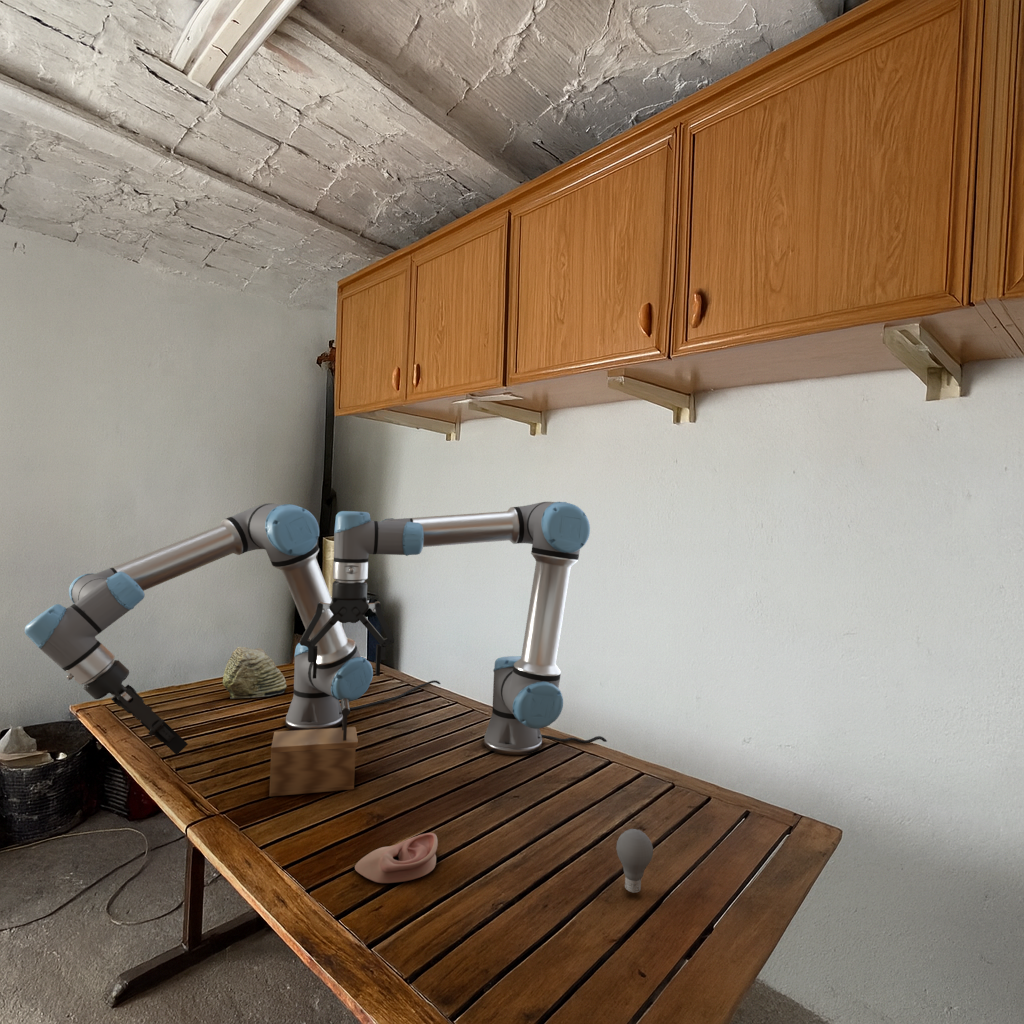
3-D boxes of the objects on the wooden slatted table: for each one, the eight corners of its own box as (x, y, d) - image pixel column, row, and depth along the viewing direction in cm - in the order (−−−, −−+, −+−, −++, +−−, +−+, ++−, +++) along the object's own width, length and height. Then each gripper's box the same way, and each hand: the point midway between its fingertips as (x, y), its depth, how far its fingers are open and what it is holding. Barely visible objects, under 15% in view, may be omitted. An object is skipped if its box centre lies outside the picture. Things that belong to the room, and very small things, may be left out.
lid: (355, 731, 147) (357, 696, 146) (357, 747, 138) (359, 709, 138) (274, 736, 141) (275, 699, 141) (271, 753, 133) (272, 713, 132)
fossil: (218, 695, 195) (220, 647, 195) (278, 685, 208) (279, 640, 207) (228, 703, 189) (230, 653, 188) (289, 692, 201) (290, 645, 201)
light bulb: (610, 879, 108) (613, 822, 108) (644, 879, 109) (647, 822, 109) (619, 902, 102) (622, 840, 102) (655, 901, 103) (658, 840, 103)
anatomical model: (347, 854, 106) (375, 820, 117) (346, 877, 106) (374, 841, 117) (422, 866, 103) (444, 831, 114) (421, 891, 103) (443, 853, 114)
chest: (351, 771, 147) (353, 732, 146) (353, 789, 138) (355, 747, 138) (272, 777, 142) (274, 737, 141) (269, 796, 133) (271, 753, 133)
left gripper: (74, 679, 133) (146, 746, 140) (90, 695, 114) (172, 771, 121) (106, 653, 137) (175, 719, 144) (127, 664, 118) (205, 739, 125)
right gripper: (290, 582, 133) (286, 682, 134) (408, 583, 141) (404, 678, 141) (291, 578, 141) (288, 673, 141) (404, 578, 148) (400, 669, 148)
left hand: (174, 743), depth 133 cm, fingers open, 13 cm apart
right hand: (346, 675), depth 141 cm, fingers open, 13 cm apart
